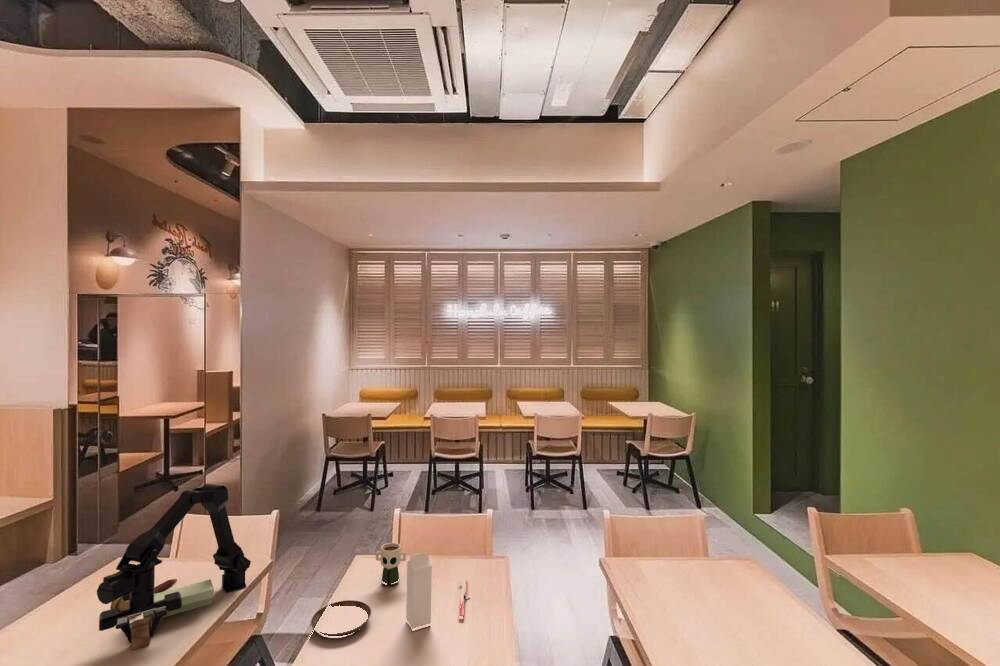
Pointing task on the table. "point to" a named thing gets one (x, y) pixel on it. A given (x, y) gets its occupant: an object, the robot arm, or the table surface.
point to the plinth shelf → (189, 597)
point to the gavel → (125, 604)
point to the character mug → (390, 561)
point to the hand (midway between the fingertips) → (141, 639)
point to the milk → (419, 590)
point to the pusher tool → (141, 632)
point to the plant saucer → (341, 603)
